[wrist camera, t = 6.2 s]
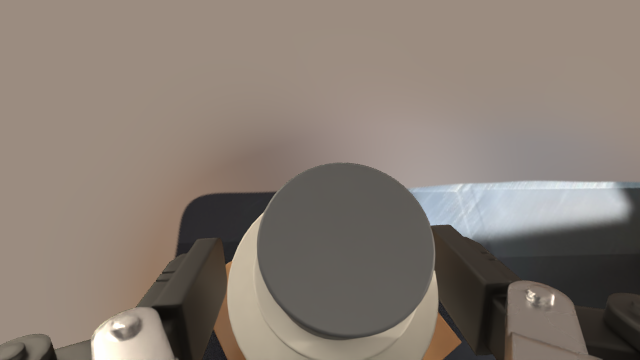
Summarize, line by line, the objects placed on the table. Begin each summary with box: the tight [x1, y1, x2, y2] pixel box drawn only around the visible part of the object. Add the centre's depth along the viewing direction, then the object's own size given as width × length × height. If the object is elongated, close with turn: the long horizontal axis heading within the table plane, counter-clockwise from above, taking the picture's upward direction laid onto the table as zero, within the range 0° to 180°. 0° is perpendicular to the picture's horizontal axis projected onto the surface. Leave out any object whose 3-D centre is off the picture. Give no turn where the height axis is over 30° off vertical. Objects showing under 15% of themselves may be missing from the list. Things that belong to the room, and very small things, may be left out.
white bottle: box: [227, 163, 439, 360], centre depth 10 cm, size 5×5×12 cm
